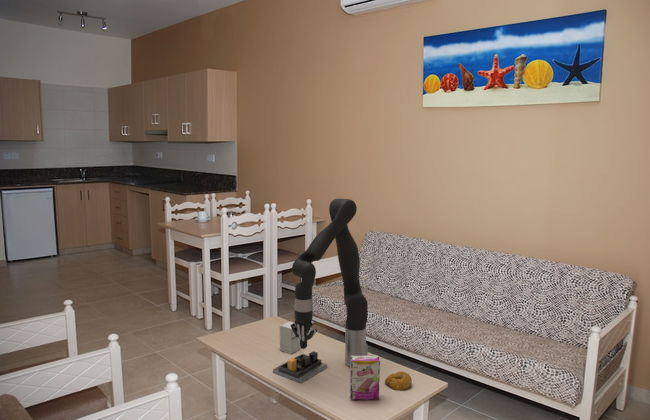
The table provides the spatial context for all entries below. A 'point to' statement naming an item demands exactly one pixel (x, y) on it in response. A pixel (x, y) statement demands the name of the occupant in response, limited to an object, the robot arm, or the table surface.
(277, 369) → the panel
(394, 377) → the bagel
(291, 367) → the block
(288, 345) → the supplement box
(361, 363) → the candy bar box
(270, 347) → the table surface
